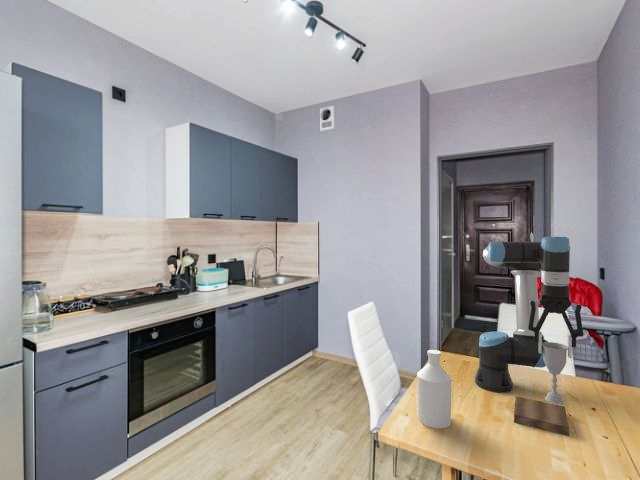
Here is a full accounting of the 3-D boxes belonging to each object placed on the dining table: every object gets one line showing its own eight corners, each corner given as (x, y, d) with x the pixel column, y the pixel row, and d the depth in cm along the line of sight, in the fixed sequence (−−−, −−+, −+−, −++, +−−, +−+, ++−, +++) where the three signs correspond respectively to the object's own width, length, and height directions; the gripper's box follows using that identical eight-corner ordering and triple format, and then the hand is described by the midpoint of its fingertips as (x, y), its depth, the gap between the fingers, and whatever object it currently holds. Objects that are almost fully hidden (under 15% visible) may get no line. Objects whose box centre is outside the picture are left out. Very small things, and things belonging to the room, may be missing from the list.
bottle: (432, 432, 116) (431, 359, 115) (410, 415, 127) (410, 348, 126) (458, 424, 120) (458, 354, 120) (435, 408, 131) (435, 344, 131)
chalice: (563, 397, 112) (564, 343, 111) (571, 407, 105) (572, 350, 105) (538, 393, 114) (538, 341, 114) (544, 403, 108) (544, 347, 107)
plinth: (514, 422, 121) (514, 414, 121) (515, 403, 135) (515, 396, 135) (569, 436, 113) (569, 427, 113) (564, 414, 126) (564, 406, 126)
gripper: (518, 283, 111) (518, 352, 111) (596, 288, 100) (596, 364, 101) (519, 280, 117) (518, 345, 118) (592, 284, 107) (592, 356, 107)
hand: (554, 354), depth 109 cm, fingers closed on chalice, 7 cm apart
